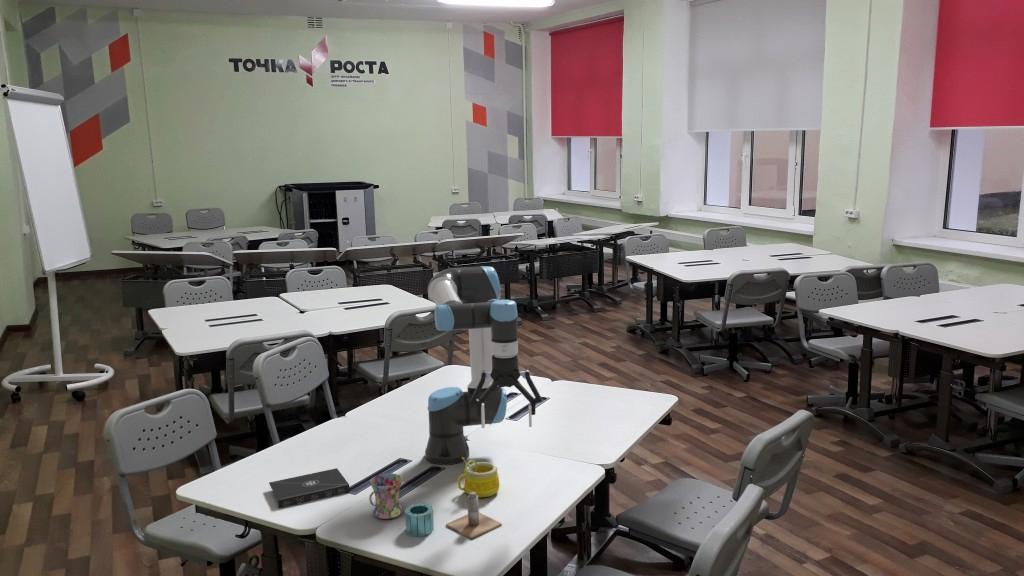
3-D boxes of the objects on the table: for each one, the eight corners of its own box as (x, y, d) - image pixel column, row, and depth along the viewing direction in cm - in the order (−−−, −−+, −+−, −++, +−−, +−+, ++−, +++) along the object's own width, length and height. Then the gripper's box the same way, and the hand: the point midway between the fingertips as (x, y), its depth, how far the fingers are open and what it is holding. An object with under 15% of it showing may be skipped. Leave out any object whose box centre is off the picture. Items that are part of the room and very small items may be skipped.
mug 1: (386, 504, 228) (384, 470, 226) (410, 510, 224) (409, 476, 222) (358, 521, 218) (356, 486, 216) (384, 528, 214) (382, 493, 212)
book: (278, 510, 227) (278, 501, 227) (269, 491, 240) (268, 482, 240) (350, 494, 237) (349, 485, 237) (337, 476, 250) (337, 467, 249)
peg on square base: (446, 525, 214) (444, 493, 212) (475, 512, 222) (474, 481, 220) (471, 539, 206) (470, 506, 205) (501, 525, 214) (500, 493, 212)
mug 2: (496, 482, 241) (495, 446, 239) (502, 498, 231) (501, 460, 228) (456, 486, 239) (454, 450, 237) (460, 502, 229) (458, 464, 226)
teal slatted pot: (400, 530, 212) (399, 510, 211) (422, 520, 218) (421, 501, 216) (417, 539, 207) (416, 519, 206) (439, 529, 212) (438, 509, 211)
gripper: (460, 359, 213) (462, 431, 217) (549, 357, 213) (550, 429, 217) (461, 352, 221) (464, 422, 224) (548, 350, 220) (549, 420, 224)
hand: (506, 426), depth 221 cm, fingers open, 13 cm apart
